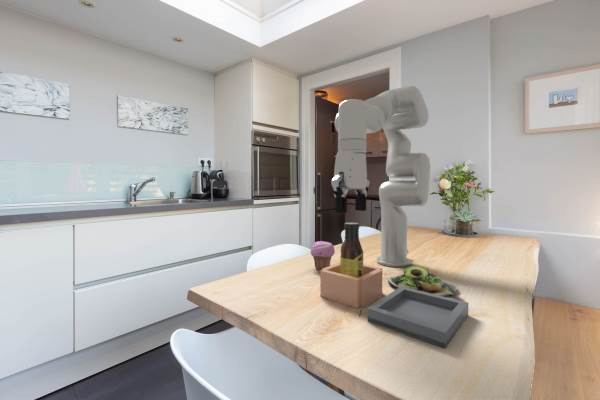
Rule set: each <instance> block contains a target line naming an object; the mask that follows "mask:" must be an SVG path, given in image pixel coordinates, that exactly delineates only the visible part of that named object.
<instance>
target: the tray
mask: <svg viewBox="0 0 600 400" xmlns="http://www.w3.org/2000/svg"><path fill="white" fill-rule="evenodd" d="M468 316H469V302H467V301H463V300H458V299H454V298H452V297H451V298H450V297H448V296H445V297H443V296H439V295H435V294H430V293H427V292H425V291H420V290H414V289H410V288H406V287H402V286H401V287H399V288H398V289H395V290H393V291H391V292H390V293H389V294H387V295H385V296H384V297H382V298H381V299H379V300H378V301H377V302H375V303H373V304H371V306H368V308H367V322H369V323H371V324H374V325H377V326H379V327H383V328H386V329H389V330H391V331H394V332H397V333H400V334H403V335H405V336H407V337H411V338H413V339H417V340H420V341H422V342H425V343H427V344H430V345H434V346H437V347H439V348H442V349H444V348H445V349H446V348H447V347H448V345H449V344H450V343H451V341H452V339H453V338H454V337H455V335H456V333H457V332H458V331H459V330H460V329H461V327H462V325H463V323H465V320H466V319H467V318H468Z"/></svg>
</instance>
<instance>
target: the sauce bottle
mask: <svg viewBox="0 0 600 400" xmlns="http://www.w3.org/2000/svg"><path fill="white" fill-rule="evenodd" d="M343 224H344V225H343V226H344V241H343V242H342V243H341V246H340V258H339V261H340V274H344V275H348V276H352V277H356V278H359V277H361V276H363V264H364V250H363V247H362V245H361V242H360V241H361V240H360V237H359V236H360V235H359V232H360V231H359V229H360V223H359V222H344V223H343Z"/></svg>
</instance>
